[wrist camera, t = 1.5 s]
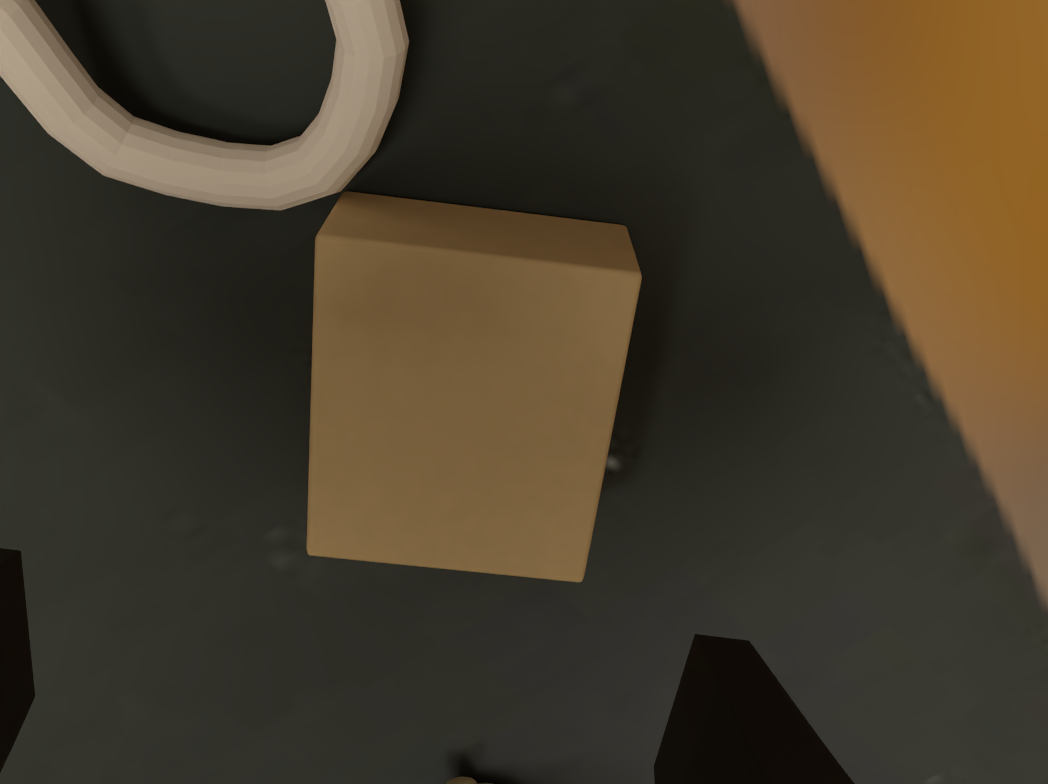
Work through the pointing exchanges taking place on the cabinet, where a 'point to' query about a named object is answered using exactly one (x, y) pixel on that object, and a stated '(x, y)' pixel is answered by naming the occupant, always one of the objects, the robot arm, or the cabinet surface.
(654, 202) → the cabinet surface
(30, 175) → the cabinet surface
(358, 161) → the hook
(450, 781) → the toy dog
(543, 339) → the beige block
